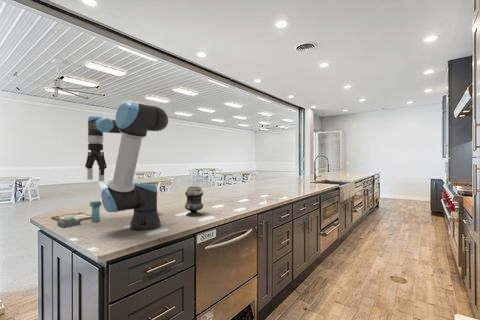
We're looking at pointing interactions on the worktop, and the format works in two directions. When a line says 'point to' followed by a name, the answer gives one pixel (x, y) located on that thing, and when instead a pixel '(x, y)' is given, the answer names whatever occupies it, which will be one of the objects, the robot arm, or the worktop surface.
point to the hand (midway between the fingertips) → (95, 180)
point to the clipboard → (76, 215)
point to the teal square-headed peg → (95, 210)
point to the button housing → (68, 223)
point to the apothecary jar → (194, 201)
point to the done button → (68, 218)
